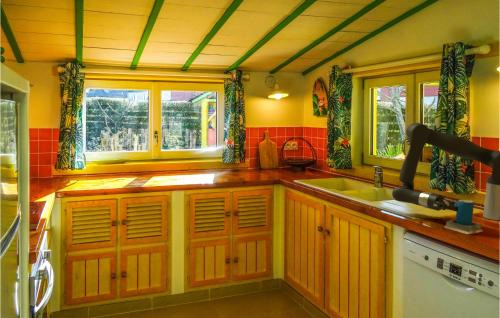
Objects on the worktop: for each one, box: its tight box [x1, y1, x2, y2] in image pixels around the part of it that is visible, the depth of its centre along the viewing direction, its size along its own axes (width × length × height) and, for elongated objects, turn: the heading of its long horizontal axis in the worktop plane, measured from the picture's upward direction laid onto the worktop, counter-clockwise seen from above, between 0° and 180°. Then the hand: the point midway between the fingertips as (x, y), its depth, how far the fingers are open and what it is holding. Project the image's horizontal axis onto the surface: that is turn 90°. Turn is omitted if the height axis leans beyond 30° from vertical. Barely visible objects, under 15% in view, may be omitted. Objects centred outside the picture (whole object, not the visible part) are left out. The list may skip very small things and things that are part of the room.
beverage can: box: [455, 199, 475, 226], centre depth 190 cm, size 6×6×12 cm
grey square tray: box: [444, 219, 484, 235], centre depth 191 cm, size 11×11×3 cm
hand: (463, 208), depth 191 cm, fingers open, 8 cm apart
